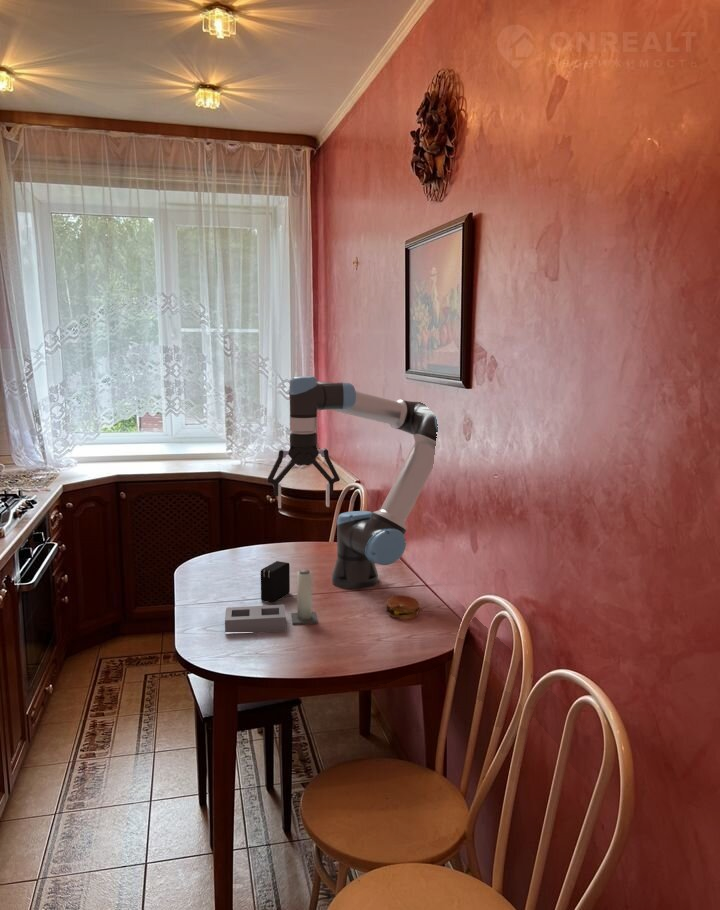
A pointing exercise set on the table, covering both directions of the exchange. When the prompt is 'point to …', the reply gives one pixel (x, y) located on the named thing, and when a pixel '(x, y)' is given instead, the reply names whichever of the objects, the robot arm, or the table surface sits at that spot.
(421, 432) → the robot arm
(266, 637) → the table surface
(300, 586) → the plug
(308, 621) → the coaster
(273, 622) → the gray cinder block
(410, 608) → the burger
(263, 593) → the electronic device
